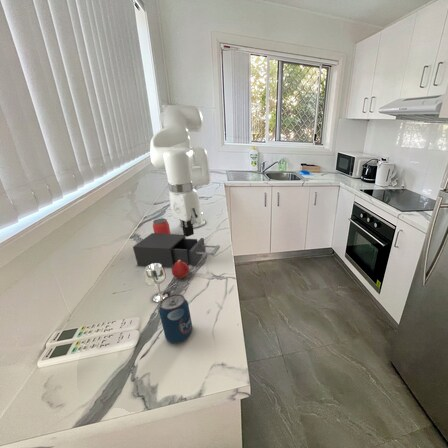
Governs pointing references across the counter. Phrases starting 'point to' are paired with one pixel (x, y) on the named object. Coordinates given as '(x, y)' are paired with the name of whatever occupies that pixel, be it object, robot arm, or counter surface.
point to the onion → (180, 269)
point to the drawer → (191, 250)
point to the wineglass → (156, 279)
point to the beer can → (161, 226)
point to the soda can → (175, 318)
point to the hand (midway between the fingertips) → (188, 234)
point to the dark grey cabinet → (157, 249)
